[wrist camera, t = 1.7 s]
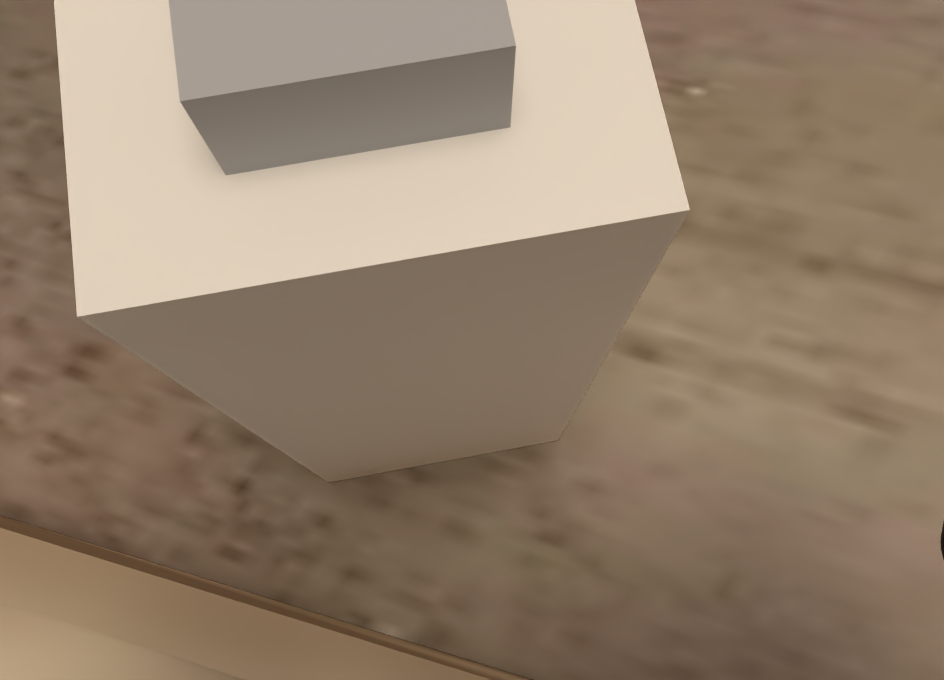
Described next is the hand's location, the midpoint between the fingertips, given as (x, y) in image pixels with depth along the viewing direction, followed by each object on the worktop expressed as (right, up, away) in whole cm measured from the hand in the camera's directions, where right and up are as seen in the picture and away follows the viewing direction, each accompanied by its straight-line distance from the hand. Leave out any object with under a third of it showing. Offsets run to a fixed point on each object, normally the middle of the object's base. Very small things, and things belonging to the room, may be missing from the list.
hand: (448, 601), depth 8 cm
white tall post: (-1, +2, +12) cm, 12 cm away
